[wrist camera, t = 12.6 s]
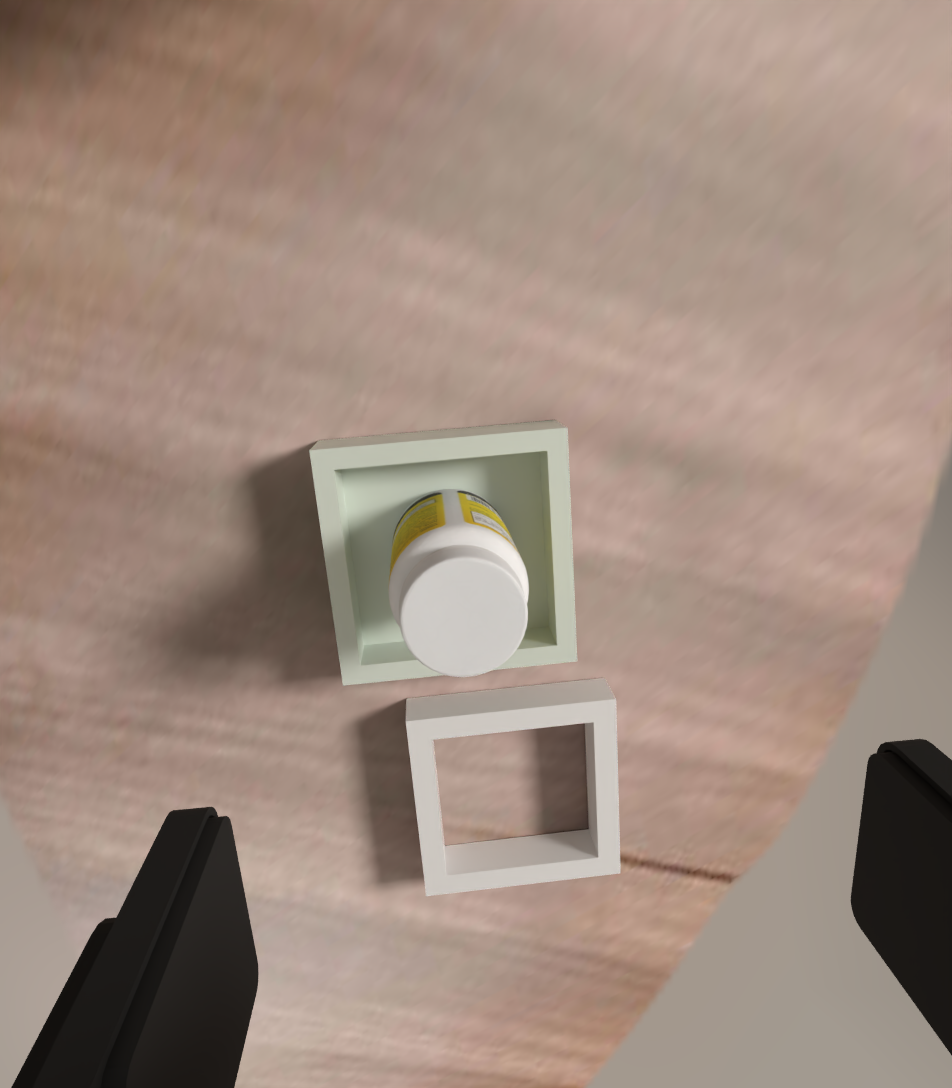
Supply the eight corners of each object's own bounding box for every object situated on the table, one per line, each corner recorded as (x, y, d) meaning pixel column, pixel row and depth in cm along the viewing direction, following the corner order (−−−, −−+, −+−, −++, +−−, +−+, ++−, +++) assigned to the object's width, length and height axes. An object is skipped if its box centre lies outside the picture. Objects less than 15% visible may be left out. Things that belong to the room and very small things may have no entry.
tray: (318, 440, 29) (309, 450, 27) (555, 419, 30) (567, 427, 27) (348, 659, 32) (342, 685, 30) (565, 636, 33) (577, 661, 30)
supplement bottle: (394, 597, 31) (386, 691, 23) (390, 487, 30) (380, 546, 22) (507, 594, 31) (538, 686, 23) (509, 485, 30) (542, 543, 22)
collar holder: (406, 698, 33) (405, 721, 31) (604, 677, 33) (615, 698, 31) (425, 865, 35) (426, 896, 33) (609, 844, 36) (620, 873, 34)
